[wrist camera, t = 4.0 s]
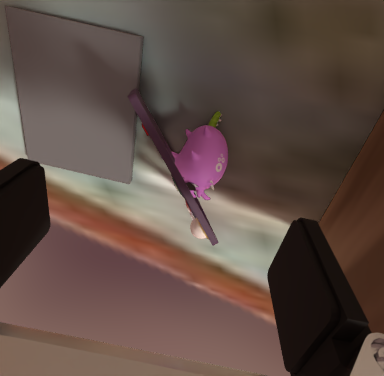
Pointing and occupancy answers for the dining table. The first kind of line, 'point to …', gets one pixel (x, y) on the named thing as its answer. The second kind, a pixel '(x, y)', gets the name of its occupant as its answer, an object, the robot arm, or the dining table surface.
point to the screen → (361, 227)
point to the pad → (76, 92)
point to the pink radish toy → (190, 162)
